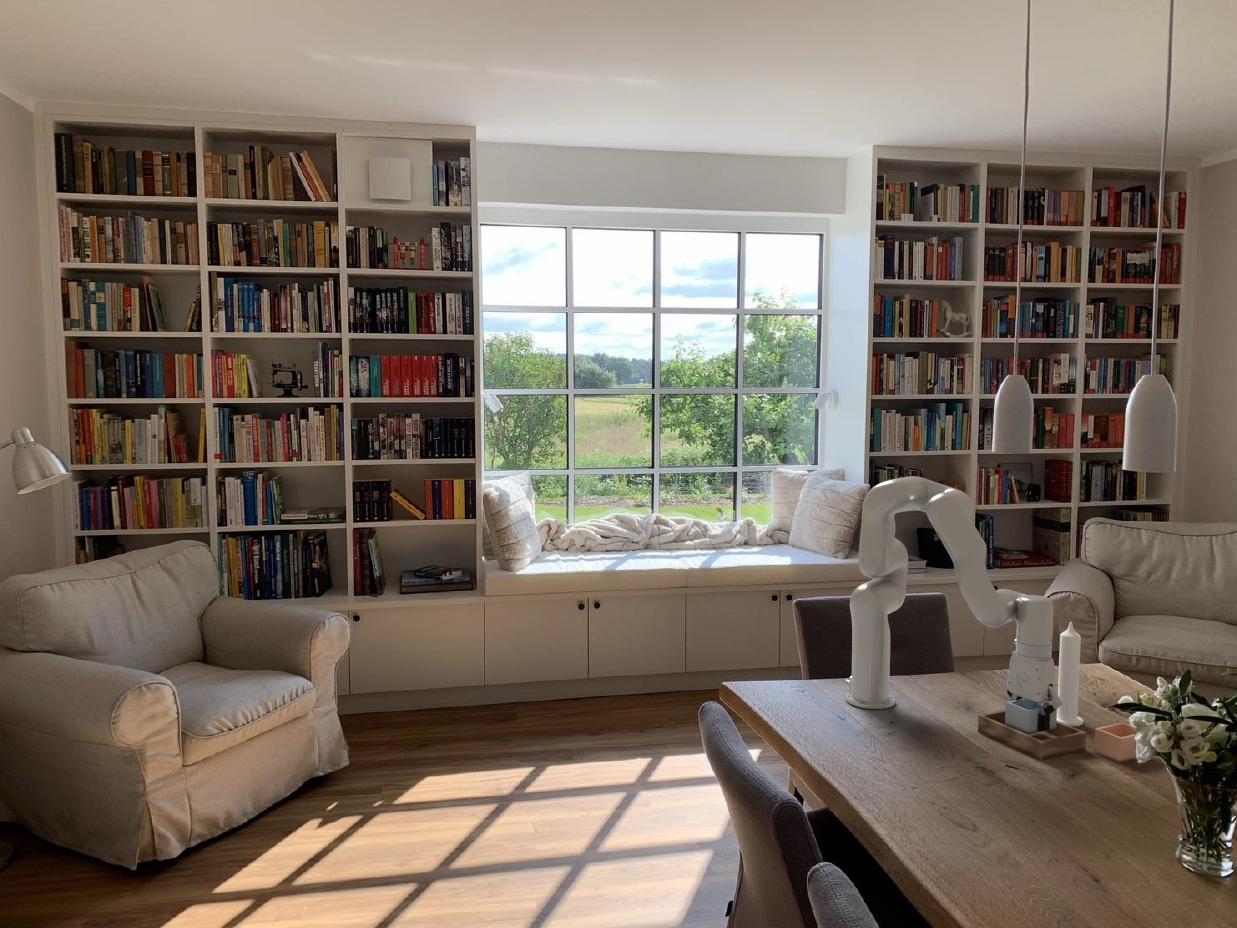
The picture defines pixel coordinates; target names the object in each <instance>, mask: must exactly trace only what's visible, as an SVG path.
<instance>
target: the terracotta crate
mask: <svg viewBox="0 0 1237 928" xmlns="http://www.w3.org/2000/svg"><path fill="white" fill-rule="evenodd" d="M1135 734H1136V732H1135V731H1134V730H1133V729H1132V728H1131V727H1130V724H1128V723H1126V722H1117V723H1113V724H1109V725H1104V726H1100V727H1096V728H1094V743H1093V745H1094V746H1093V752H1094V754H1097V753H1099V754H1101V755H1100V756H1102V755H1103V756H1102V757H1104V756H1105V758H1107V759H1109V758H1111V759H1113V760H1112V761H1114V760H1115V761H1114V762H1116V761H1118V762H1117V763H1119V764H1123V763H1126V762H1125V761H1127V762H1131V761H1135V760H1136V759H1135V743H1134V736H1135ZM1099 754H1098V755H1099ZM1133 758H1134V760H1132V759H1133ZM1111 759H1110V760H1111ZM1130 760H1131V761H1130ZM1122 762H1123V763H1122Z"/></svg>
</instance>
